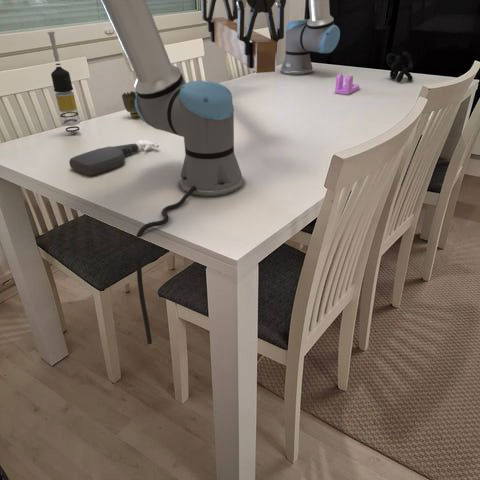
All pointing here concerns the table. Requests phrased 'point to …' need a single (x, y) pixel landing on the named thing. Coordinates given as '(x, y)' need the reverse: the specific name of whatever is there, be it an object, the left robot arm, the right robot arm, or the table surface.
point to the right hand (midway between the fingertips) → (220, 41)
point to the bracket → (348, 87)
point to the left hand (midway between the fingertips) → (260, 66)
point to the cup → (130, 103)
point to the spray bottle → (106, 157)
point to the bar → (228, 42)
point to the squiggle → (399, 66)
